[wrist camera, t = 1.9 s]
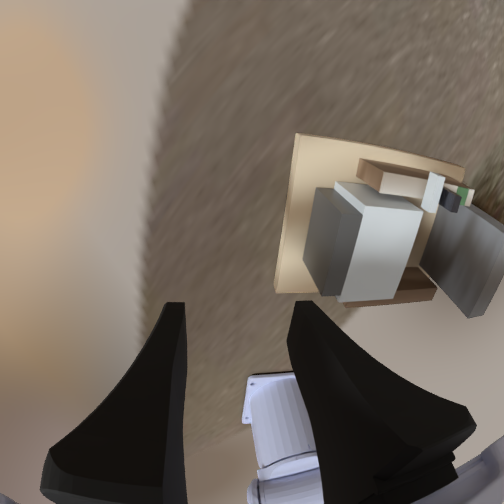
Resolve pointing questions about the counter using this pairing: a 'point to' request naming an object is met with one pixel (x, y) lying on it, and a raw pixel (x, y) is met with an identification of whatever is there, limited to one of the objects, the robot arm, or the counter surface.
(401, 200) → the light grey block
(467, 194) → the stand
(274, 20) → the counter surface
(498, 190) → the counter surface
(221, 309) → the counter surface
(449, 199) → the dark navy block
